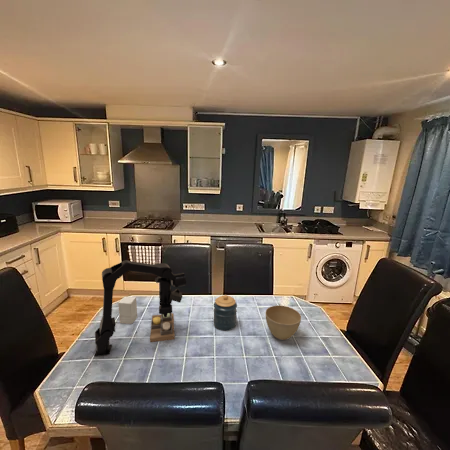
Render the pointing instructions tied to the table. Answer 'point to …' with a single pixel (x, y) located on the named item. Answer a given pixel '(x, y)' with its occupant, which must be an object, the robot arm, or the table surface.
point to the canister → (225, 313)
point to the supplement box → (127, 310)
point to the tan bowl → (282, 321)
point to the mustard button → (156, 320)
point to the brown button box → (158, 331)
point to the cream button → (166, 326)
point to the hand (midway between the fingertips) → (165, 316)
